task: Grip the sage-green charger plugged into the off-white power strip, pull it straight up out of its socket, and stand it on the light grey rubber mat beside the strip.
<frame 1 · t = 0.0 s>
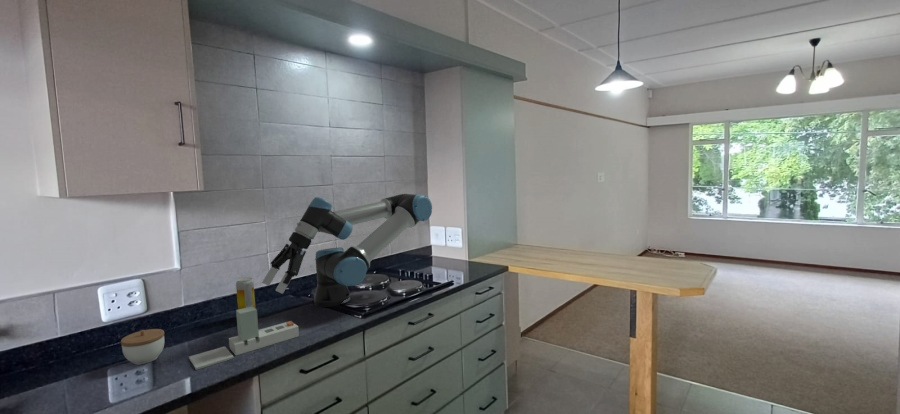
hand: (271, 288, 145), 15 cm above the counter, tool tilted 35°, fingers open, 13 cm apart
beer can: (247, 317, 160), on the counter
power strip: (265, 342, 136), on the counter
charger: (248, 341, 133), point 2 cm above the counter, touching power strip
lidded jar: (145, 360, 126), on the counter
mat: (211, 358, 125), on the counter
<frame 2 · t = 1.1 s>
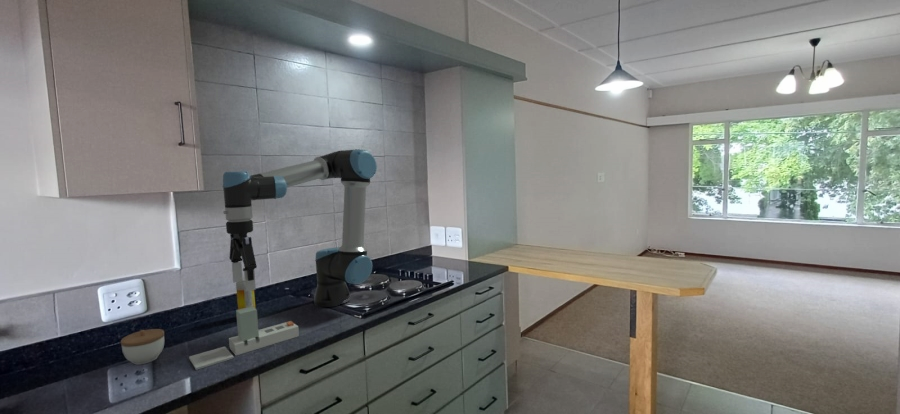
hand: (244, 285, 131), 20 cm above the counter, tool pointing down, fingers open, 13 cm apart
nothing on the counter moved.
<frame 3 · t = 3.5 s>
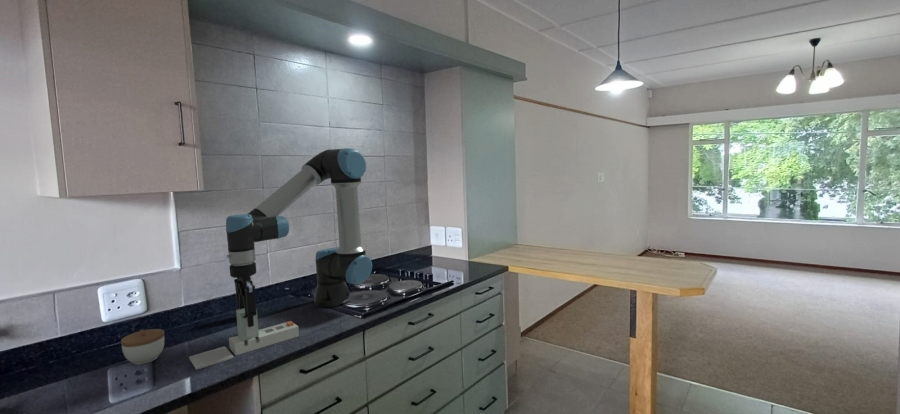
hand: (248, 333, 132), 5 cm above the counter, tool pointing down, fingers closed on charger, 4 cm apart
charger: (249, 341, 133), point 2 cm above the counter, touching gripper, power strip
everything else where it was.
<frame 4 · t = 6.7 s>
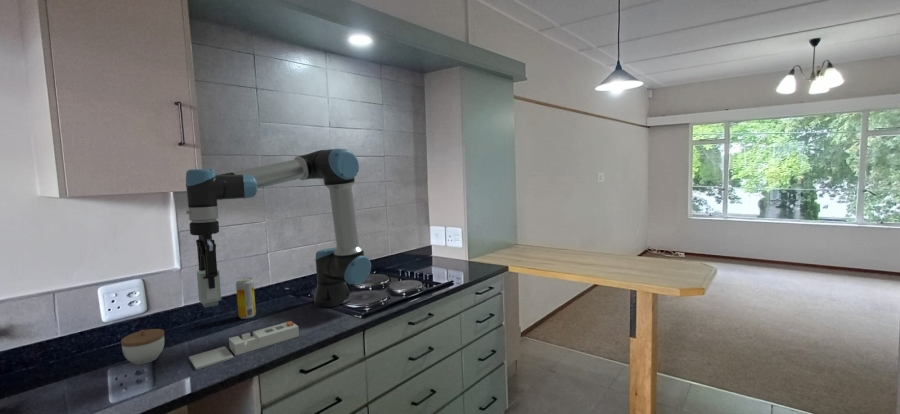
hand: (209, 296, 124), 19 cm above the counter, tool pointing down, fingers closed on charger, 4 cm apart
charger: (210, 305, 124), point 17 cm above the counter, touching gripper
everything else where it was.
when the fingers open (5 cm above the counter, at t = 10.1 s): charger drops 2 cm, resting on mat.
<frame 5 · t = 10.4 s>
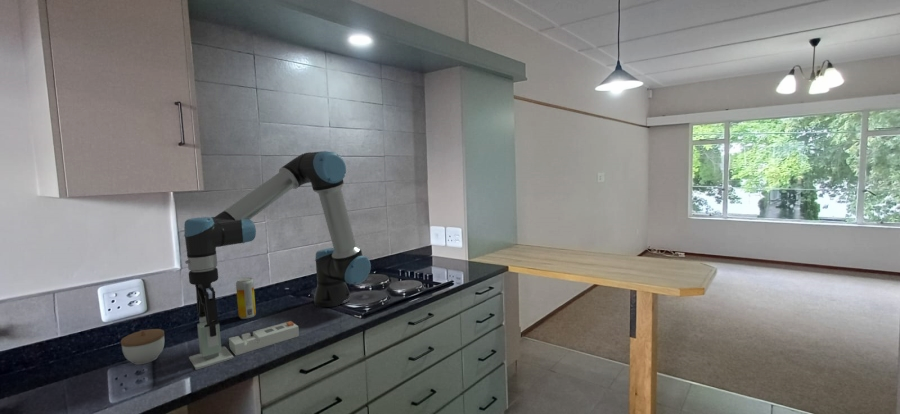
hand: (209, 341, 125), 6 cm above the counter, tool pointing down, fingers open, 8 cm apart
charger: (211, 356, 125), point 1 cm above the counter, touching mat
everything else where it was.
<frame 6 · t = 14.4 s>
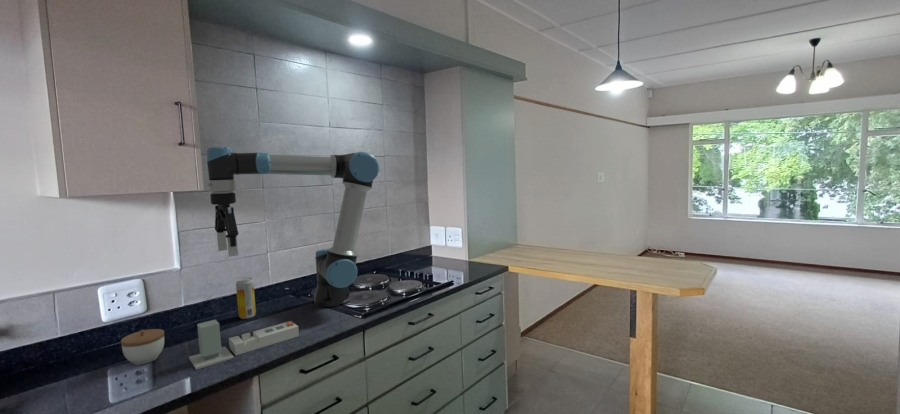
hand: (227, 253, 142), 29 cm above the counter, tool pointing down, fingers open, 13 cm apart
nothing on the counter moved.
at the end: charger inside the target area on the mat (0.0 cm from its centre), point 0.6 cm above the mat's base; charger tilted 0°; the gripper is holding nothing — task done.
